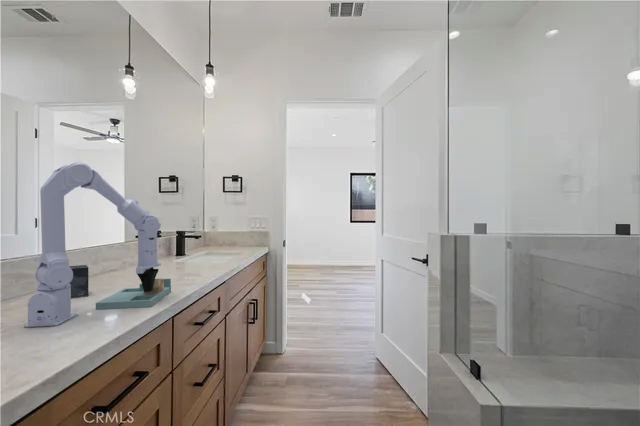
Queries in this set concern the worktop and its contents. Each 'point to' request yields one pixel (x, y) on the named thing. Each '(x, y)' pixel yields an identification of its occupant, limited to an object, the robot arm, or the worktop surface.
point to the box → (79, 281)
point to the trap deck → (133, 298)
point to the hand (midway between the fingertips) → (148, 291)
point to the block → (157, 286)
